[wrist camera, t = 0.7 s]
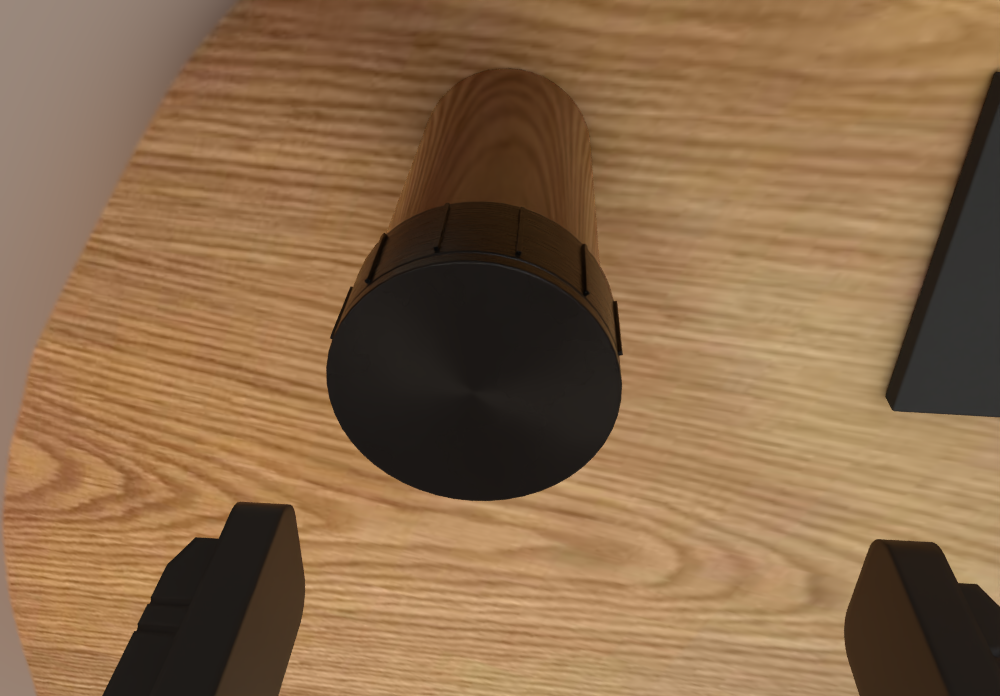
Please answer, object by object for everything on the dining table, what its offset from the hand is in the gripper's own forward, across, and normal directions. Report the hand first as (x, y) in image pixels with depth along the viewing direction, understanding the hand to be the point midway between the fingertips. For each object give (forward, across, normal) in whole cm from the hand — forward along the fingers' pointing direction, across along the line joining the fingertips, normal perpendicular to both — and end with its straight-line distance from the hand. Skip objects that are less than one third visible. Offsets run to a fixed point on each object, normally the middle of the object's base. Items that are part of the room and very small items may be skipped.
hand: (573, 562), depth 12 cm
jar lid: (+9, +2, +2) cm, 10 cm away
